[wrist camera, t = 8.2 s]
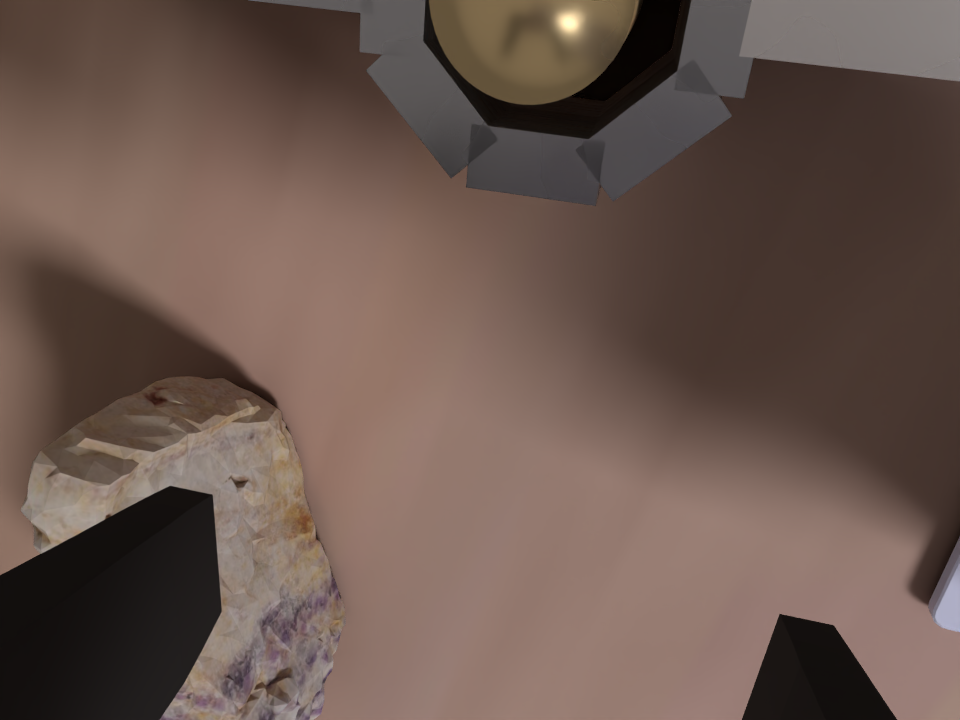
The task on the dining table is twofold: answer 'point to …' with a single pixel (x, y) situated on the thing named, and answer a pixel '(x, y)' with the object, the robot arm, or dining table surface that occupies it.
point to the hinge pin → (532, 43)
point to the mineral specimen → (239, 535)
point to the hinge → (634, 86)
